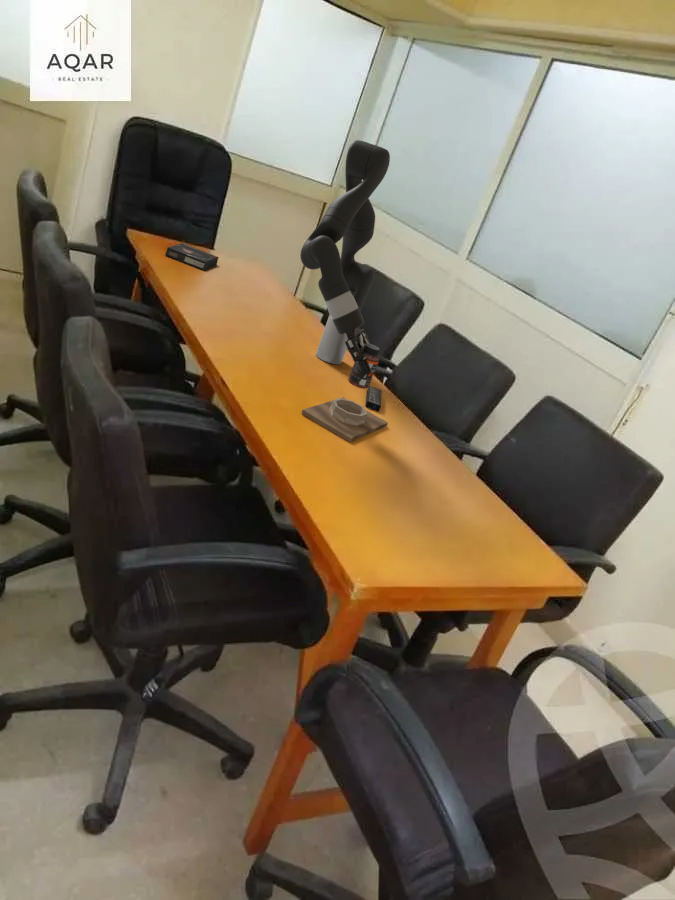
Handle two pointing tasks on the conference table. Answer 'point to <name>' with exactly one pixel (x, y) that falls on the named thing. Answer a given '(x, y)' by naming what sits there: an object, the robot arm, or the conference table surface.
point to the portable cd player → (192, 256)
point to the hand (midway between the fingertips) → (370, 370)
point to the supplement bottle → (356, 373)
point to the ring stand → (345, 418)
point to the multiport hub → (373, 398)
